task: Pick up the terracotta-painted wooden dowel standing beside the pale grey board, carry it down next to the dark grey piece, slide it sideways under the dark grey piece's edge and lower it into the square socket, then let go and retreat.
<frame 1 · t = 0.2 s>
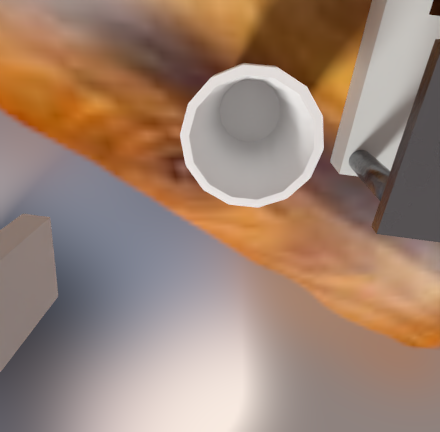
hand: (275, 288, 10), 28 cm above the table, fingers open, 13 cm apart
board: (435, 27, 31), on the table
foam cup: (249, 110, 35), on the table
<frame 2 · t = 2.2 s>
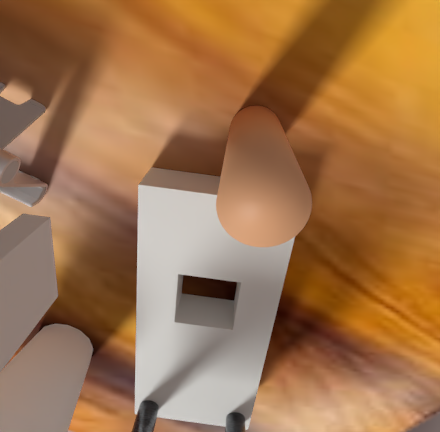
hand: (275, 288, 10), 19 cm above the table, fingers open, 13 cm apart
portable electronic device stand: (9, 135, 29), on the table
board: (207, 300, 35), on the table
foam cup: (65, 344, 39), on the table
peg: (255, 131, 27), on the table
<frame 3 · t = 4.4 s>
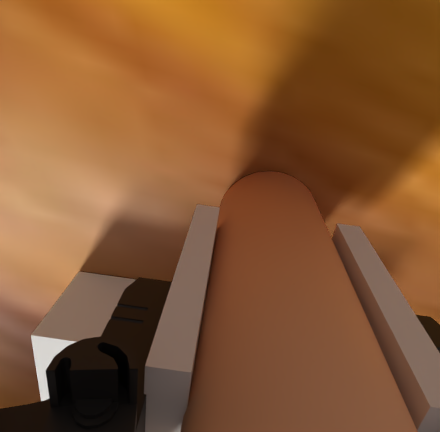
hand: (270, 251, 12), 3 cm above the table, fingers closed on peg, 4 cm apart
peg: (267, 218, 14), on the table, touching gripper
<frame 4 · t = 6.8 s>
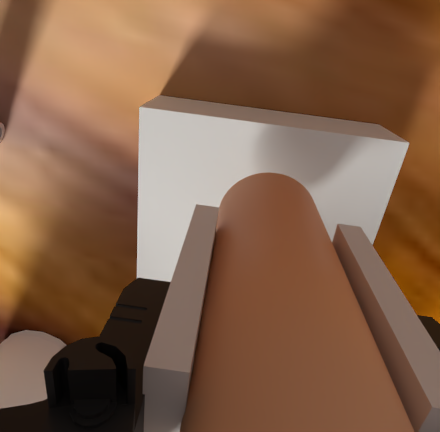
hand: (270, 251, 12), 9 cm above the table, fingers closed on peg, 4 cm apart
board: (235, 298, 25), on the table
foam cup: (41, 357, 29), on the table
peg: (266, 219, 14), point 7 cm above the table, touching gripper
when the fingers open (5 cm above the table, at t = 9.5 s): peg stays where it is, resting in board.
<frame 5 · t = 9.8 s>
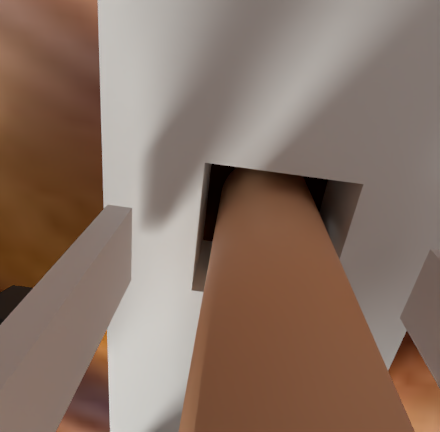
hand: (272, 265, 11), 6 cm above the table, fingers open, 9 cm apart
board: (254, 254, 17), on the table
peg: (264, 199, 16), resting in board
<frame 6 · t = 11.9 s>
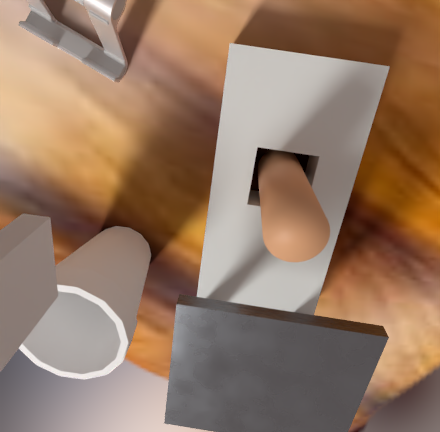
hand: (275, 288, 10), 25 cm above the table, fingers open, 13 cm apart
portable electronic device stand: (94, 11, 30), on the table
dark grey piece: (262, 323, 29), on the board, point 10 cm above the table
board: (272, 197, 35), on the table
foam cup: (123, 250, 39), on the table
peg: (278, 168, 34), resting in board
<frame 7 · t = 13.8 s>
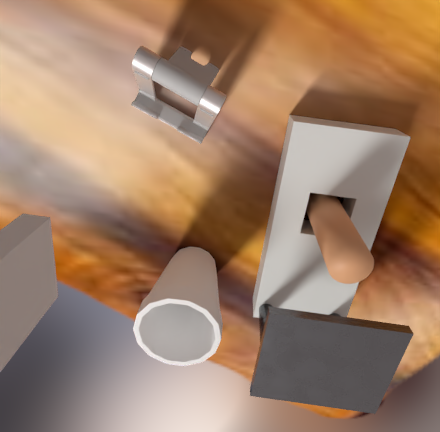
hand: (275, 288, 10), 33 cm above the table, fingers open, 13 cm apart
portable electronic device stand: (185, 90, 40), on the table
dark grey piece: (315, 323, 39), on the board, point 10 cm above the table
board: (315, 224, 45), on the table
foam cup: (193, 265, 49), on the table
peg: (320, 202, 44), resting in board
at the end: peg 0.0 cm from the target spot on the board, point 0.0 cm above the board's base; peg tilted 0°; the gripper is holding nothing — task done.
